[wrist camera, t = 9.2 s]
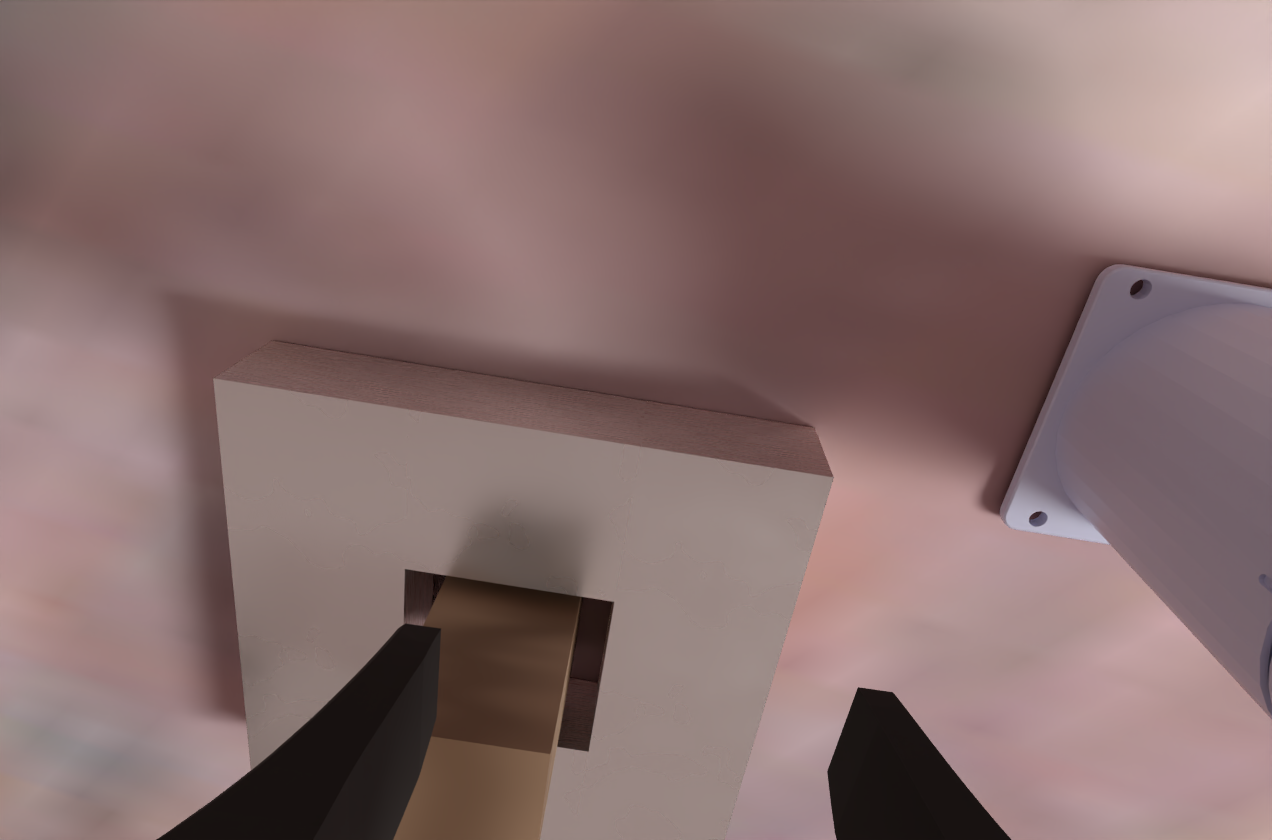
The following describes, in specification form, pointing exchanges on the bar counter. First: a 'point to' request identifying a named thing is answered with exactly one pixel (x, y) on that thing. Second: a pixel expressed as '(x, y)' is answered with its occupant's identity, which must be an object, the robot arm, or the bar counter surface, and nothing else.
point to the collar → (522, 558)
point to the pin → (493, 711)
